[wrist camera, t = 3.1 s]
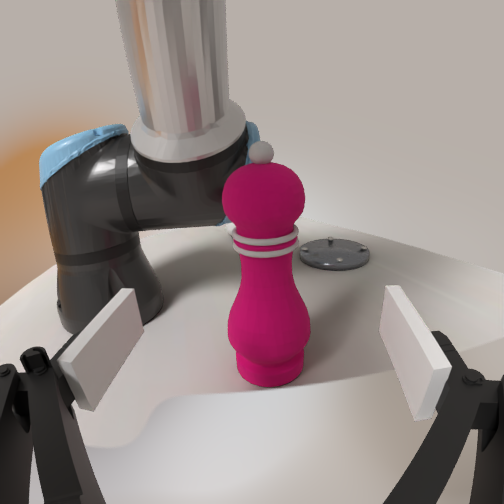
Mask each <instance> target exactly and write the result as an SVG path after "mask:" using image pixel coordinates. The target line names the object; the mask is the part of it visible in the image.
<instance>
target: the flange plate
mask: <svg viewBox="0 0 504 504" xmlns="http://www.w3.org/2000/svg"><path fill="white" fill-rule="evenodd" d="M300 259H301V260H302V261H303V262H304V263H305V264H307V265H309V266H312V267H315V268H319V269H324V270H335V271H341V270H351V269H355V268H359V267H361V266H363V265H365V264H366V263H367V262H368V260H369V250H368V248H367V247H366V246H364V245H362V244H360V243H357V242H354V241H349V240H343V239H333V238H332V237H329V238H328V239H320V240H314V241H311V242H308V243H305V244H304V245H302V246H301V248H300Z"/></svg>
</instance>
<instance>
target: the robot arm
mask: <svg viewBox="0 0 504 504" xmlns="http://www.w3.org/2000/svg"><path fill="white" fill-rule="evenodd" d="M115 1H116V7H117V12H118V18H119V22H120V28H121V33H122V38H123V43H124V48H125V52H126V57H127V61H128V66H129V70H130V74H131V79H132V83H133V87H134V92H135V96H136V100H137V104H138V108H139V112H140V116H139V117H138V118H137V120H136V121H135V123H134V124H133V127H132V129H131V134H128V130H127V129H126V127H125V125H123V124H115V125H108V126H103V127H99V128H96V129H93V130H88V131H84V132H81V133H78V134H75V135H72V136H70V137H67V138H65V139H63V140H60V141H58V142H56V143H54V144H52V145H51V146H49V147H48V148H47V149H46V150H45V151H44V152H43V153H42V155H41V157H40V162H39V166H40V189H41V191H42V196H43V202H44V207H45V213H46V218H47V223H48V227H49V232H50V237H51V242H52V246H53V250H54V253H55V258H56V262H57V268H58V270H57V296H58V301H57V310H58V314H59V317H60V319H61V322H62V325H63V327H64V328H65V329H66V330H67V331H68V332H70V333H72V334H74V335H73V336H72V337H71V338H70V339H69V340H68V341H67V343H65V344H64V345H63V346H62V348H61V349H60V350H59V351H58V352H57V353H56V354H55V355H54V357H53V358H52V359H51V360H49V357H48V355H47V353H46V350H45V349H44V348H43V347H32V348H30V349H27V350H26V351H25V352H23V354H22V355H21V357H20V361H21V363H22V365H23V367H24V369H25V371H26V373H18V372H17V370H16V368H15V366H14V365H13V364H3V365H1V366H0V504H29V487H30V473H31V462H32V452H33V446H34V452H35V458H36V464H37V470H38V475H39V480H40V484H41V489H42V493H43V497H44V504H106V502H105V500H104V498H103V495H102V493H101V490H100V488H99V485H98V483H97V480H96V478H95V475H94V472H93V469H92V467H91V464H90V461H89V458H88V455H87V452H86V449H85V446H84V443H83V440H82V436H81V433H80V430H79V426H78V423H77V419H76V415H75V412H74V409H73V407H72V405H71V404H72V402H73V401H74V400H76V402H77V404H78V406H79V408H81V409H85V410H89V411H93V412H94V410H95V408H96V407H97V405H98V403H99V402H100V400H101V399H102V397H103V395H104V394H105V392H106V390H107V389H108V387H109V386H110V384H111V382H112V381H113V379H114V378H115V376H116V374H117V373H118V371H119V370H120V368H121V367H122V365H123V363H124V362H125V360H126V359H127V357H128V356H129V354H130V352H131V351H132V349H133V348H134V346H135V345H136V343H137V342H138V340H139V339H140V337H141V335H142V334H143V332H144V329H143V324H145V323H146V322H148V321H149V320H150V319H152V318H153V317H154V316H155V315H156V314H157V313H158V312H159V311H160V309H161V307H162V305H163V294H162V289H161V284H160V282H159V280H158V278H157V276H156V274H155V272H154V271H153V269H152V267H151V265H150V263H149V261H148V260H147V258H146V256H145V254H144V252H143V250H142V248H141V244H140V238H139V232H138V231H146V230H160V229H173V228H187V227H202V226H221V225H223V224H226V223H232V222H231V221H230V220H229V219H228V217H227V216H226V215H225V212H224V209H223V204H222V193H223V188H224V185H225V183H226V181H227V179H228V178H229V176H230V175H231V174H232V173H233V172H234V171H236V170H237V169H238V168H240V167H242V166H244V165H247V164H251V163H253V162H252V161H251V160H250V158H249V149H250V147H251V145H252V144H254V143H255V142H257V141H260V136H259V131H258V128H257V126H256V125H255V124H254V123H252V122H248V121H246V119H245V115H244V112H243V110H242V109H241V107H240V106H239V105H237V104H236V103H235V102H234V101H232V100H230V99H229V87H228V86H229V85H228V63H227V62H228V61H227V34H226V7H225V6H226V5H225V0H115ZM379 333H380V335H381V338H382V340H383V342H384V345H385V347H386V349H387V352H388V354H389V357H390V359H391V362H392V364H393V367H394V369H395V371H396V374H397V376H398V379H399V382H400V384H401V387H402V389H403V392H404V395H405V397H406V400H407V403H408V405H409V408H410V411H411V414H412V416H413V419H414V421H421V420H426V419H431V417H432V416H433V413H434V411H435V409H436V410H437V412H438V415H437V417H436V419H435V421H434V423H433V425H432V427H431V428H430V430H429V432H428V434H427V436H426V438H425V439H424V441H423V443H422V445H421V446H420V448H419V450H418V452H417V453H416V455H415V457H414V458H413V460H412V461H411V463H410V465H409V466H408V468H407V469H406V471H405V472H404V474H403V476H402V477H401V479H400V480H399V482H398V483H397V484H396V486H395V487H394V489H393V490H392V492H391V493H390V495H389V496H388V497H387V499H386V500H385V501H384V503H383V504H436V502H437V501H438V499H439V497H440V495H441V493H442V491H443V489H444V487H445V486H446V484H447V482H448V479H449V478H450V476H451V474H452V471H453V469H454V467H455V465H456V463H457V461H458V458H459V456H460V454H461V451H462V449H463V447H464V444H465V442H466V440H467V437H468V435H469V432H470V429H478V442H477V453H476V463H475V471H474V479H473V486H472V492H471V498H470V503H469V504H504V375H503V377H502V379H501V381H492V380H485V378H484V376H483V375H482V374H481V373H480V372H478V371H476V370H474V369H468V368H467V366H466V364H465V363H464V361H463V360H462V358H461V357H460V355H459V354H458V352H457V351H456V349H455V348H454V346H453V345H452V343H451V342H450V340H449V339H448V337H447V336H446V335H444V334H443V333H441V332H440V331H432V332H430V330H429V329H428V327H427V326H426V324H425V323H424V321H423V319H422V318H421V316H420V315H419V313H418V312H417V310H416V309H415V307H414V306H413V305H412V303H411V302H410V300H409V299H408V297H407V296H406V294H405V293H404V291H403V290H402V289H401V287H400V286H399V285H390V286H385V293H384V300H383V308H382V314H381V321H380V327H379Z"/></svg>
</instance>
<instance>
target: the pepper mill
mask: <svg viewBox="0 0 504 504" xmlns="http://www.w3.org/2000/svg"><path fill="white" fill-rule="evenodd" d="M273 156H274V151H273V148H272V146H271V145H270V144H269V143H267V142H265V141H257V142H255V143H254V144H252V145H251V147H250V149H249V158H250V160H251V161H252V162H253V163H251V164H247V165H244V166H242V167H240V168H238V169H237V170H236V171H234V172H233V173H232V174H231V175H230V176H229V178H228V179H227V181H226V183H225V185H224V188H223V193H222V204H223V209H224V212H225V215H226V216H227V217H228V219H229V220H230V221H231V222H232V223H233V224H234V225H235V226H236V227H235V228H234V229H233V230H232V237H233V238H234V239H233V240H234V241H233V248H234V250H235V251H236V252H238V253H239V255H240V260H241V272H242V279H241V284H240V288H239V291H238V294H237V296H236V299H235V301H234V303H233V306H232V308H231V310H230V314H229V319H228V337H229V341H230V343H231V345H232V347H233V348H234V349H235V350H236V360H237V368H238V371H239V373H240V375H241V376H242V377H243V378H244V379H245V380H247V381H248V382H250V383H252V384H255V385H258V386H262V387H275V386H281V385H284V384H287V383H289V382H291V381H292V380H294V379H295V378H296V377H297V376H298V375H299V374H300V373H301V371H302V368H303V361H304V349H303V348H304V347H305V346H306V344H307V342H308V340H309V337H310V332H311V331H310V318H309V315H308V311H307V308H306V306H305V304H304V302H303V300H302V298H301V296H300V294H299V292H298V290H297V288H296V285H295V283H294V279H293V275H292V254H293V251H294V250H295V249H296V248H297V247H298V244H299V241H298V238H297V235H298V233H299V230H298V227H297V226H296V225H294V223H295V221H296V220H297V219H298V218H299V216H300V215H301V214H302V212H303V209H304V203H305V193H304V188H303V185H302V182H301V181H300V179H299V177H298V176H297V175H296V174H295V173H294V172H293V171H292V170H291V169H289V168H287V167H286V166H284V165H281V164H277V163H272V162H271V160H272V159H273Z"/></svg>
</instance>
